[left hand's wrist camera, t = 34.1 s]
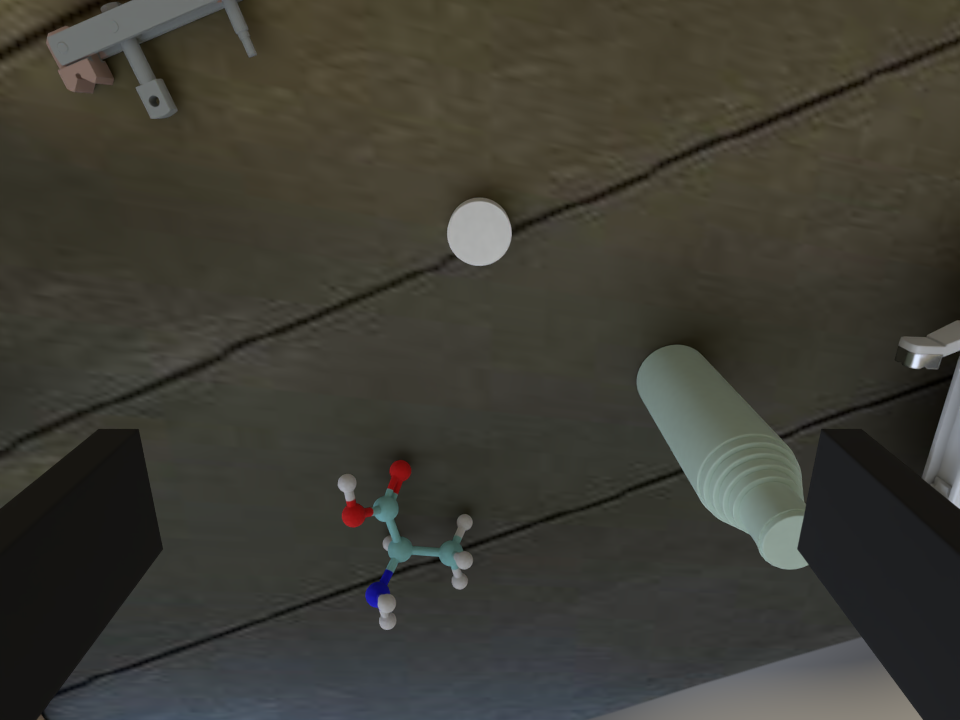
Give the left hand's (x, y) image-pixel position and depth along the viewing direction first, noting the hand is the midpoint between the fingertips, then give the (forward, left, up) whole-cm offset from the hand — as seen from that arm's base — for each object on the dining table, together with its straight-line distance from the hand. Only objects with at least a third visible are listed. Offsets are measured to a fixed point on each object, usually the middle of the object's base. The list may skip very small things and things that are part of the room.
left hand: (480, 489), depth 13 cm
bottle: (+16, +6, -32) cm, 37 cm away
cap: (0, 0, -30) cm, 30 cm away
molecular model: (+16, -17, -32) cm, 40 cm away
